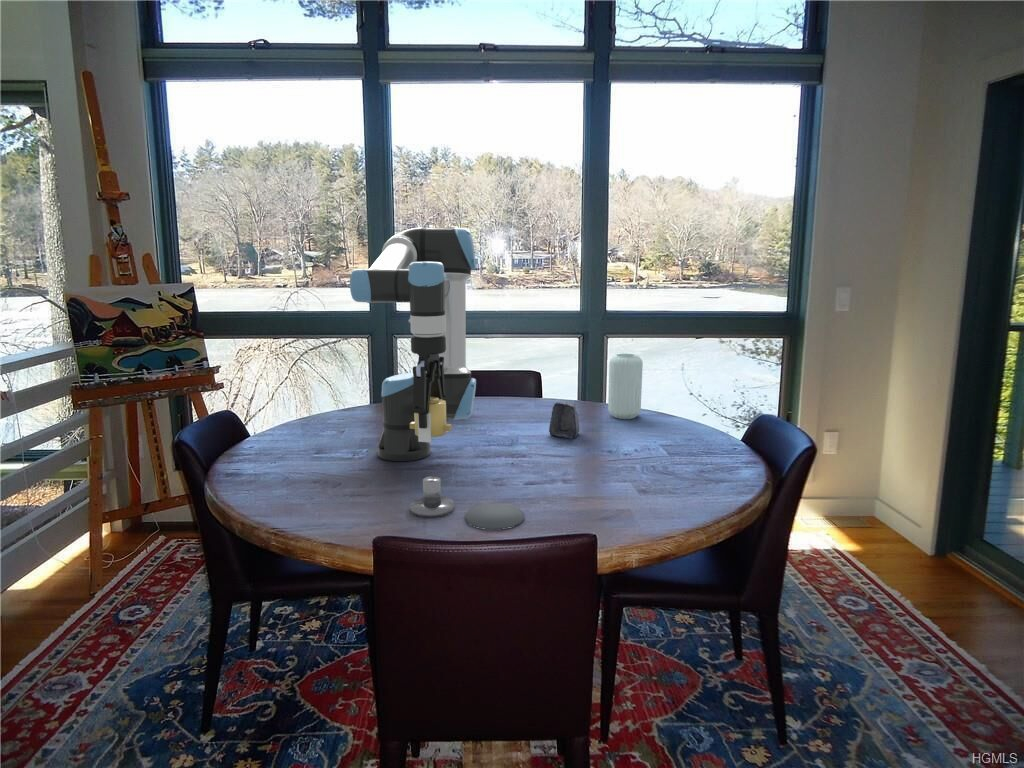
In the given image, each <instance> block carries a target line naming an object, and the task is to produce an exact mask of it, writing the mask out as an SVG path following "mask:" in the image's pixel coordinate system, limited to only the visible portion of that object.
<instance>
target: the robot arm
mask: <svg viewBox="0 0 1024 768" xmlns="http://www.w3.org/2000/svg"><path fill="white" fill-rule="evenodd" d="M475 252H476V251H475V247H474V240H473V235H472V232H471V230H469V228H466V227H455V226H453V227H413V228H409V229H405V230H403V231H400V232H398V233H396V234H394V235H393V236H391V237H390V238H389V239H388V240H386V242H384V244H383V247H382V248H381V254H380V255H379V256H378V257H377V258H376V260H374V261H373V264H372V265H371V266H370V267H369V268H358V269H353V270H352V271H351V274H350V278H349V290H350V296H351V298H352V301H354V302H357V303H366V304H371V303H373V304H375V303H377V304H378V303H381V304H382V303H385V304H386V303H409V319H408V323H409V324H410V333H411V334H413V335H411V336H410V351H411V353H412V354H415V355H418V360H417V365H416V366H415V365H414V366H413V367H412V372H406V373H400V374H395V375H391V376H389V377H386V378H384V380H383V381H382V382H381V383H382V384H381V396H380V397H381V408H382V411H381V412H382V432H381V435H380V439H379V442H378V446H377V456H378V458H380V459H381V460H382V459H383V460H386V461H392V462H411V461H416V460H417V461H418V460H421V459H424V458H426V457H428V456H429V455H431V452H432V450H431V442H432V437H431V413H429V404H430V397H437V398H439V399H441V400H444V401H446V420H453V421H456V420H464V419H465V420H466V419H469V418H471V416H472V414H473V409H474V404H475V395H476V391H477V390H476V389H477V379H476V378H474V377H472V371H471V370H469V368H468V367H467V362H466V361H467V353H466V352H467V351H466V349H467V346H466V343H467V339H466V338H467V337H466V329H467V328H466V327H467V326H466V325H467V322H466V318H467V316H466V314H467V312H466V309H467V307H466V303H467V302H466V301H467V300H466V290H467V289H466V285H467V283H466V282H467V281H468V280H470V278H471V277H472V271H474V270H476V269H477V263H476V254H475ZM414 413H418V436H417V435H415V429H410V423H411V422H415V417H414Z"/></svg>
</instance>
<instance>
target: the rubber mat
mask: <svg viewBox="0 0 1024 768" xmlns="http://www.w3.org/2000/svg"><path fill="white" fill-rule="evenodd" d="M464 520H465V522H466V521H467V522H468V523H469V524H471V525H472V527H473V526H475V527H474V528H476V527H479V528H485V529H503V528H508V527H512V528H514V527H513V526H515V525H517V526H519V525H521V524H522V523H523V522H524V520H525V512H524V511H523V510H522V508H519V507H518V506H515V505H512V504H508V503H499V502H497V503H494V502H493V503H492V502H491V503H482V504H478V505H476V506H472V507H471V508H468V510H467V511H466V512H465V514H464ZM522 521H523V522H522ZM467 522H466V523H467ZM521 522H522V523H521ZM468 523H467V524H468ZM520 523H521V524H520ZM469 524H468V525H469ZM518 524H519V525H518ZM471 525H470V526H471ZM515 527H516V526H515ZM479 528H478V529H479ZM485 529H484V530H485ZM503 530H504V529H503Z"/></svg>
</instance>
